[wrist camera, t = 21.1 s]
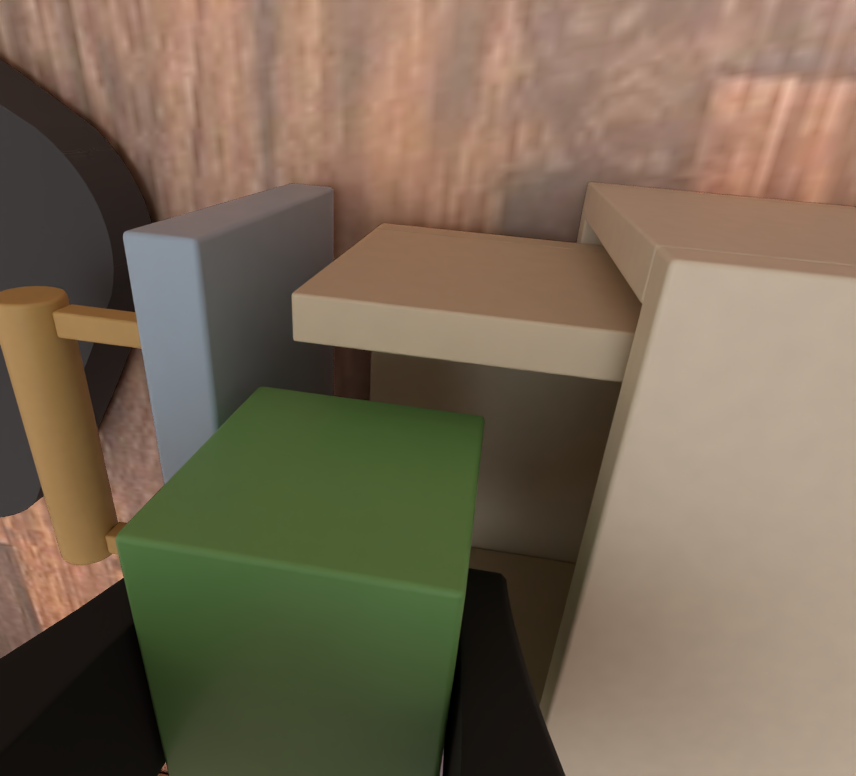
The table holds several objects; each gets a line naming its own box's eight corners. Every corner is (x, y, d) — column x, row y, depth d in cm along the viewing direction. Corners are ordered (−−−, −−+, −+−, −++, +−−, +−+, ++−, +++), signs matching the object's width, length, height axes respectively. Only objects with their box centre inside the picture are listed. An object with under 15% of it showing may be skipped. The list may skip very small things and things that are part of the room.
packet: (452, 655, 12) (424, 880, 9) (275, 624, 12) (178, 826, 9) (486, 414, 9) (466, 595, 6) (259, 384, 10) (110, 536, 6)
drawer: (168, 509, 20) (13, 682, 14) (110, 164, 15) (-177, 197, 9) (673, 590, 18) (751, 829, 12) (805, 233, 13) (1057, 333, 7)
